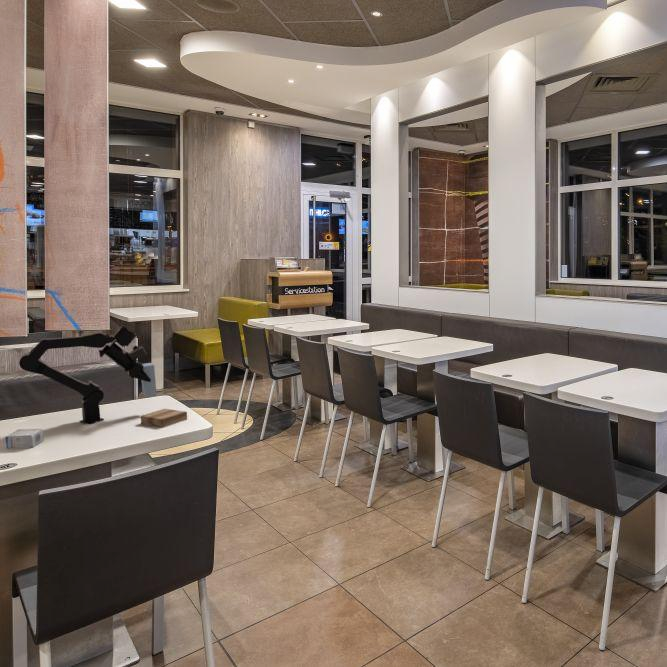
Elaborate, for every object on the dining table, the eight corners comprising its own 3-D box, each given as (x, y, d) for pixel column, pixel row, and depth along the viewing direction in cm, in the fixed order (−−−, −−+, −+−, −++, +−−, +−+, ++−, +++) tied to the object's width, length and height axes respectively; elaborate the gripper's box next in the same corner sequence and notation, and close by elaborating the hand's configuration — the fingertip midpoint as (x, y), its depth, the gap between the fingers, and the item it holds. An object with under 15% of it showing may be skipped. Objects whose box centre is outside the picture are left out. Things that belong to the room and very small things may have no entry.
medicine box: (43, 440, 191) (18, 441, 191) (42, 428, 191) (16, 429, 190) (32, 447, 183) (6, 449, 183) (31, 434, 183) (4, 436, 182)
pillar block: (145, 397, 222) (142, 366, 219) (142, 395, 226) (139, 364, 223) (156, 395, 224) (154, 364, 222) (153, 393, 228) (151, 362, 225)
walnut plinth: (187, 419, 214) (186, 411, 214) (163, 427, 204) (163, 419, 203) (165, 416, 220) (164, 408, 220) (141, 423, 210) (140, 415, 209)
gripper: (136, 342, 211) (167, 368, 217) (129, 337, 228) (158, 361, 234) (115, 364, 208) (147, 390, 215) (110, 358, 225) (140, 382, 231)
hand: (149, 380), depth 224 cm, fingers closed on pillar block, 5 cm apart
